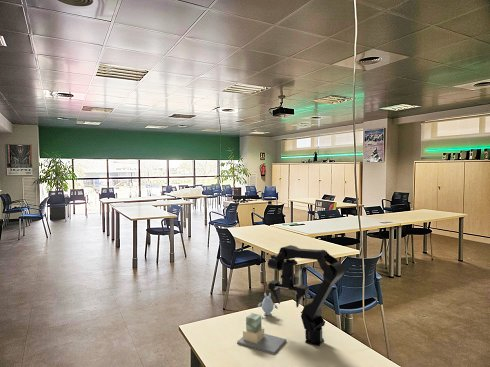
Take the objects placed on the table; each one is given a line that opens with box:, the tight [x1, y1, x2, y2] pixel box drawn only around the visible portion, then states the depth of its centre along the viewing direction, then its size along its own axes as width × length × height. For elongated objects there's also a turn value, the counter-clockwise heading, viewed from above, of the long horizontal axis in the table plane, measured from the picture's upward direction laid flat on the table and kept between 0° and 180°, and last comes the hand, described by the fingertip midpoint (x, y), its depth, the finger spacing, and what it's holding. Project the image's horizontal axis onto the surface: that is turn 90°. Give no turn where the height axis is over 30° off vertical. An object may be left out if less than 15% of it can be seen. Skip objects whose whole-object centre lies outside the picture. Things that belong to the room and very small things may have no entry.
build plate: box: [236, 326, 287, 355], centre depth 148 cm, size 18×12×5 cm, turn 60°
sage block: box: [245, 312, 262, 333], centre depth 150 cm, size 5×5×6 cm
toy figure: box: [257, 292, 278, 317], centre depth 175 cm, size 11×6×12 cm, turn 75°
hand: (288, 305), depth 158 cm, fingers open, 9 cm apart
